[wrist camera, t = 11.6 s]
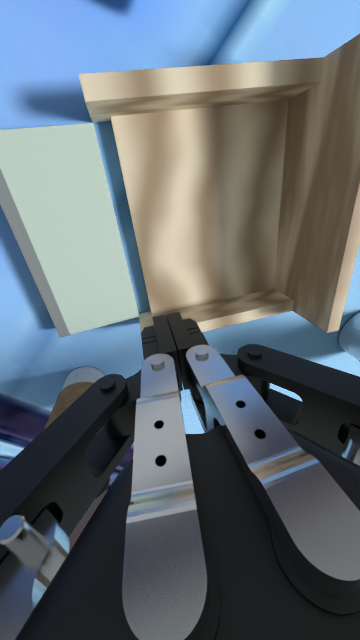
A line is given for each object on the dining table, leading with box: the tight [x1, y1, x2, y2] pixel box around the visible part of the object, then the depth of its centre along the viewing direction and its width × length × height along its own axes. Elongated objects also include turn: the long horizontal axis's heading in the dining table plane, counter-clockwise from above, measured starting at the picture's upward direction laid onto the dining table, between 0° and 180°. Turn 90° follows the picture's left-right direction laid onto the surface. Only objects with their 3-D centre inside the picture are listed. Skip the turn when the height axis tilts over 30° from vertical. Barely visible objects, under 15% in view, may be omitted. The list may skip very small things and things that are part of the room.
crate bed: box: [79, 34, 360, 333], centre depth 24 cm, size 22×24×12 cm
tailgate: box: [0, 123, 139, 337], centre depth 26 cm, size 2×20×10 cm
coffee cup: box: [44, 367, 110, 499], centre depth 30 cm, size 8×8×15 cm
